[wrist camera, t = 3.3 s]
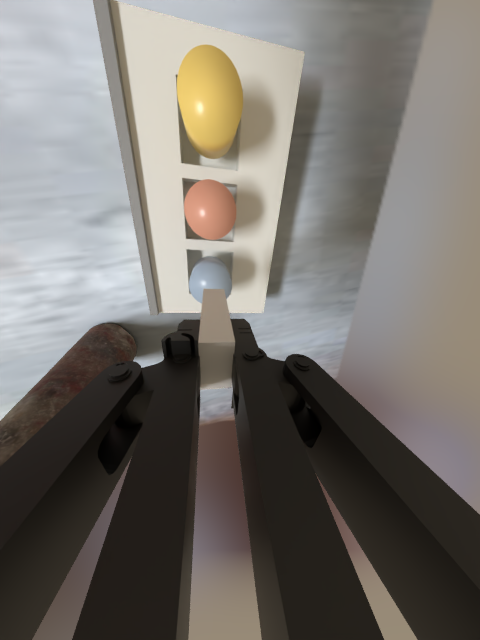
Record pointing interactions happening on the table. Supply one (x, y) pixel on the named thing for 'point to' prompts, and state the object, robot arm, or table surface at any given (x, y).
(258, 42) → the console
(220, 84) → the button mustard
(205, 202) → the button terracotta
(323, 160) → the table surface
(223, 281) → the button slate
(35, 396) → the brown rounded bar
